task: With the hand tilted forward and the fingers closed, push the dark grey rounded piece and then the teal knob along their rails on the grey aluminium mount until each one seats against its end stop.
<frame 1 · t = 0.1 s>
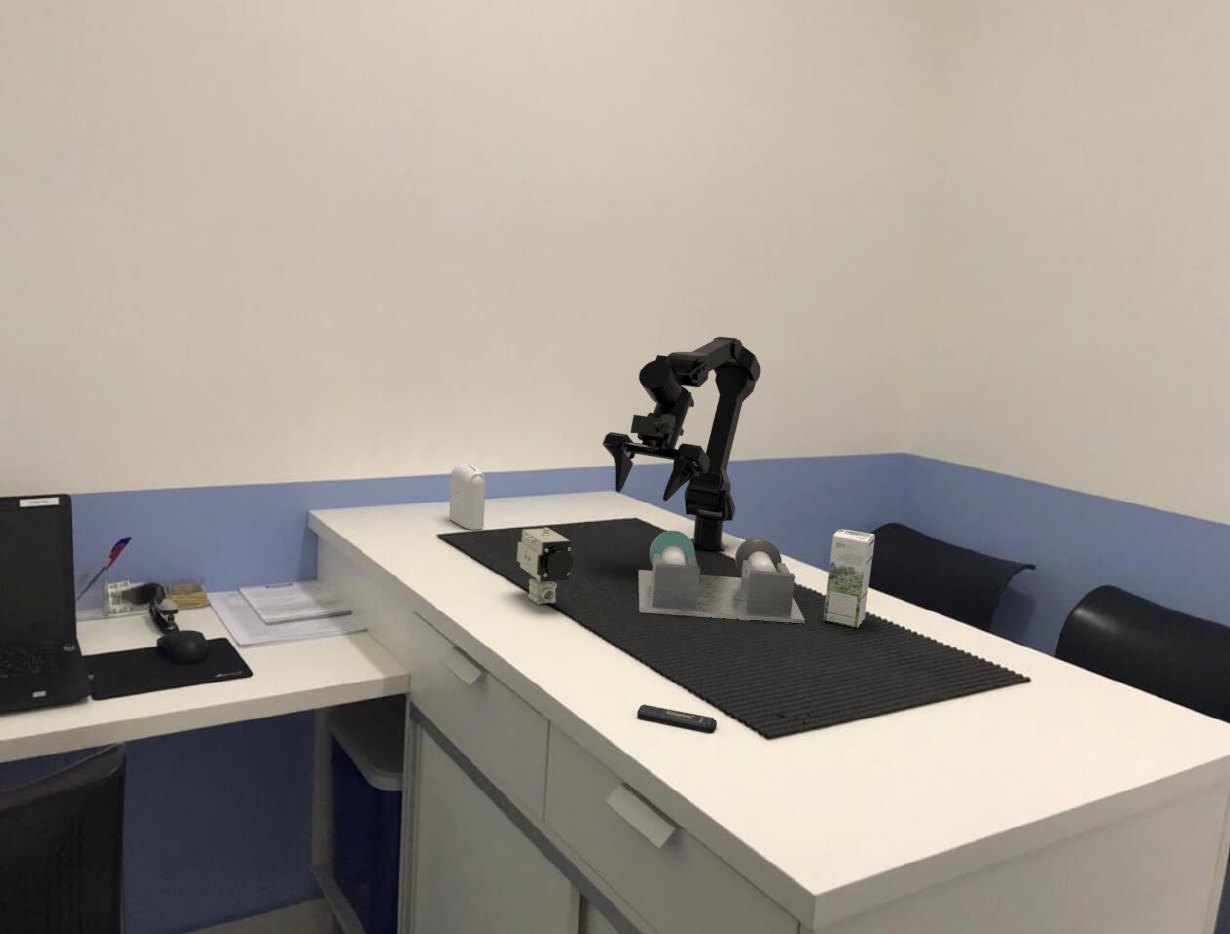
hand: (640, 496, 178), 15 cm above the table, tool tilted 35°, fingers open, 9 cm apart
usb stick: (675, 726, 123), on the table
pneumatic valve: (539, 602, 164), on the table
dark grey rounded piece: (761, 567, 175), point 5 cm above the table, slide at 5.0 cm
syrup box: (843, 622, 166), on the table
photo printer: (465, 525, 211), on the table
teal knob: (673, 560, 175), point 5 cm above the table, slide at 5.0 cm
mount: (714, 593, 176), on the table
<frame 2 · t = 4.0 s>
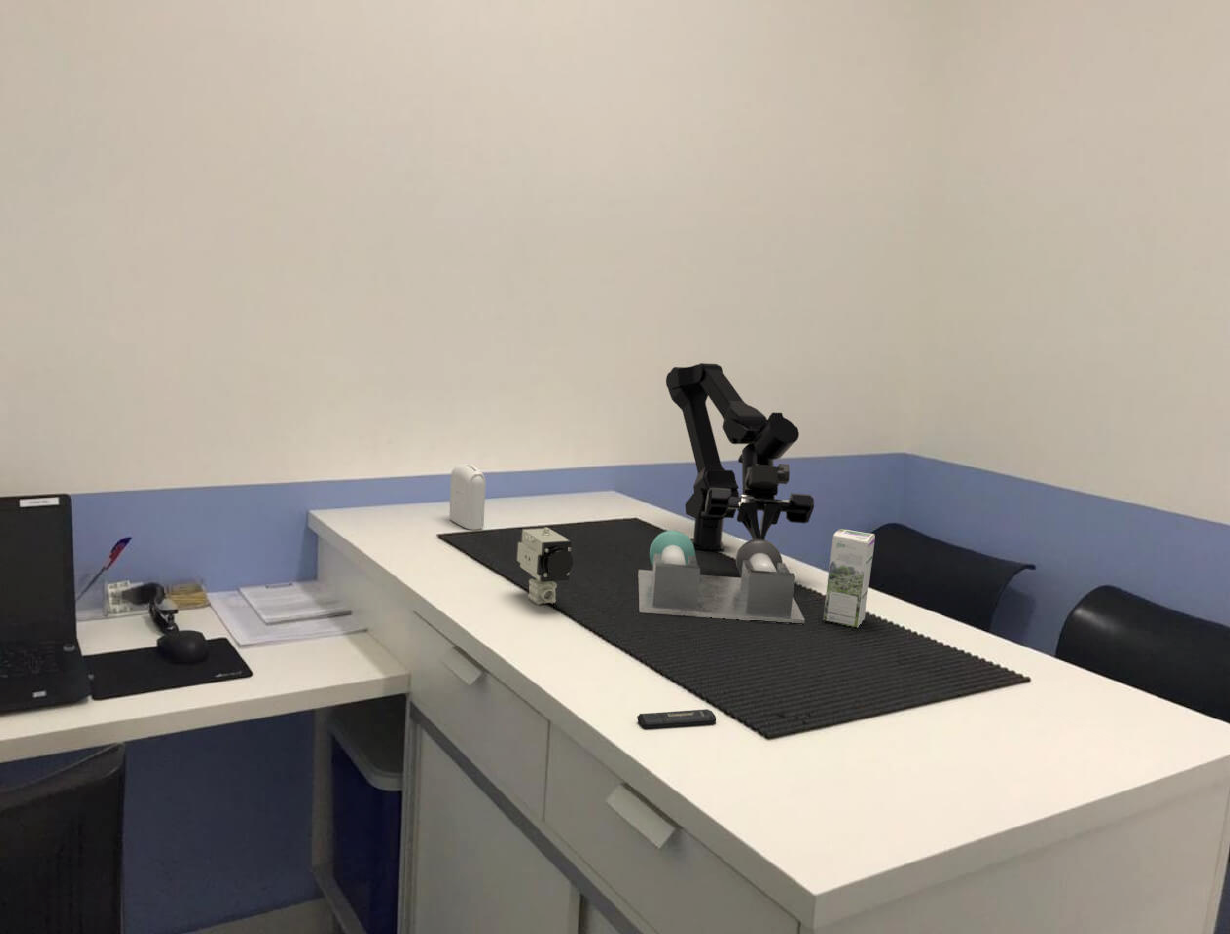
hand: (759, 546, 180), 8 cm above the table, tool tilted 45°, fingers closed, pressing on dark grey rounded piece
dark grey rounded piece: (762, 569, 174), point 5 cm above the table, slide at 3.9 cm, touching gripper
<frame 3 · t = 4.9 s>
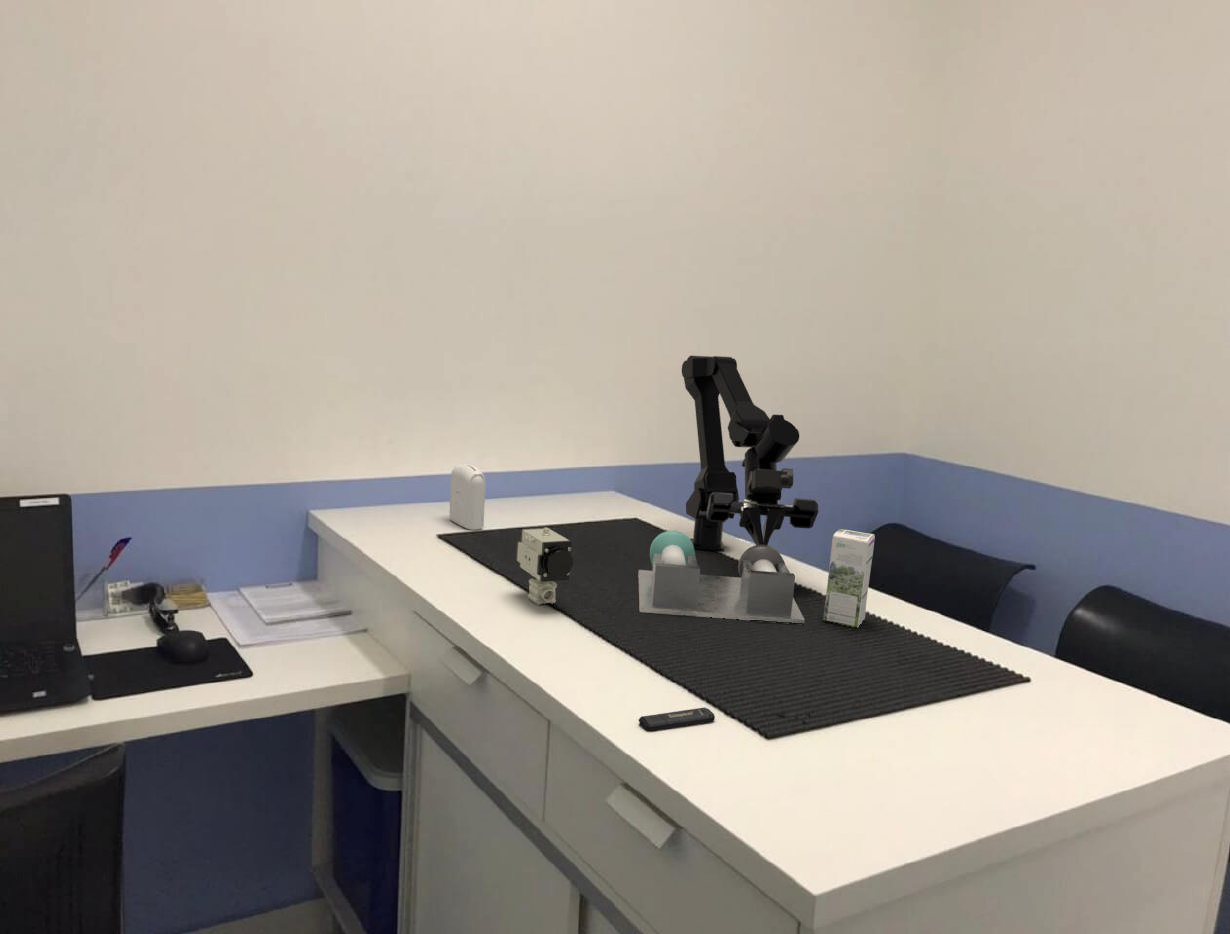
hand: (762, 552, 176), 8 cm above the table, tool tilted 45°, fingers closed, pressing on dark grey rounded piece
dark grey rounded piece: (765, 576, 170), point 5 cm above the table, slide at -0.2 cm, touching gripper
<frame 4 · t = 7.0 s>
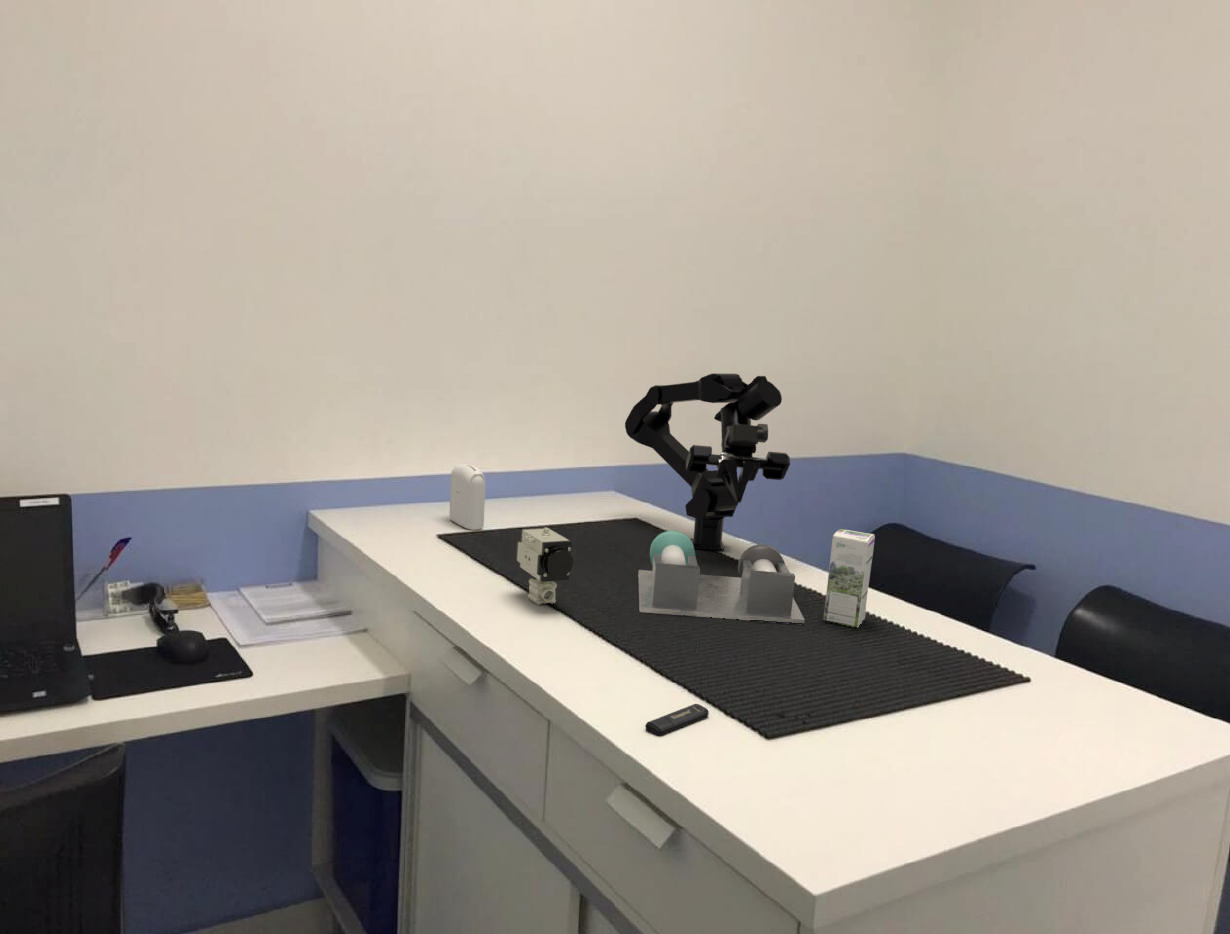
hand: (739, 501, 189), 13 cm above the table, tool tilted 45°, fingers closed
dark grey rounded piece: (765, 575, 170), point 5 cm above the table, slide at 0.0 cm
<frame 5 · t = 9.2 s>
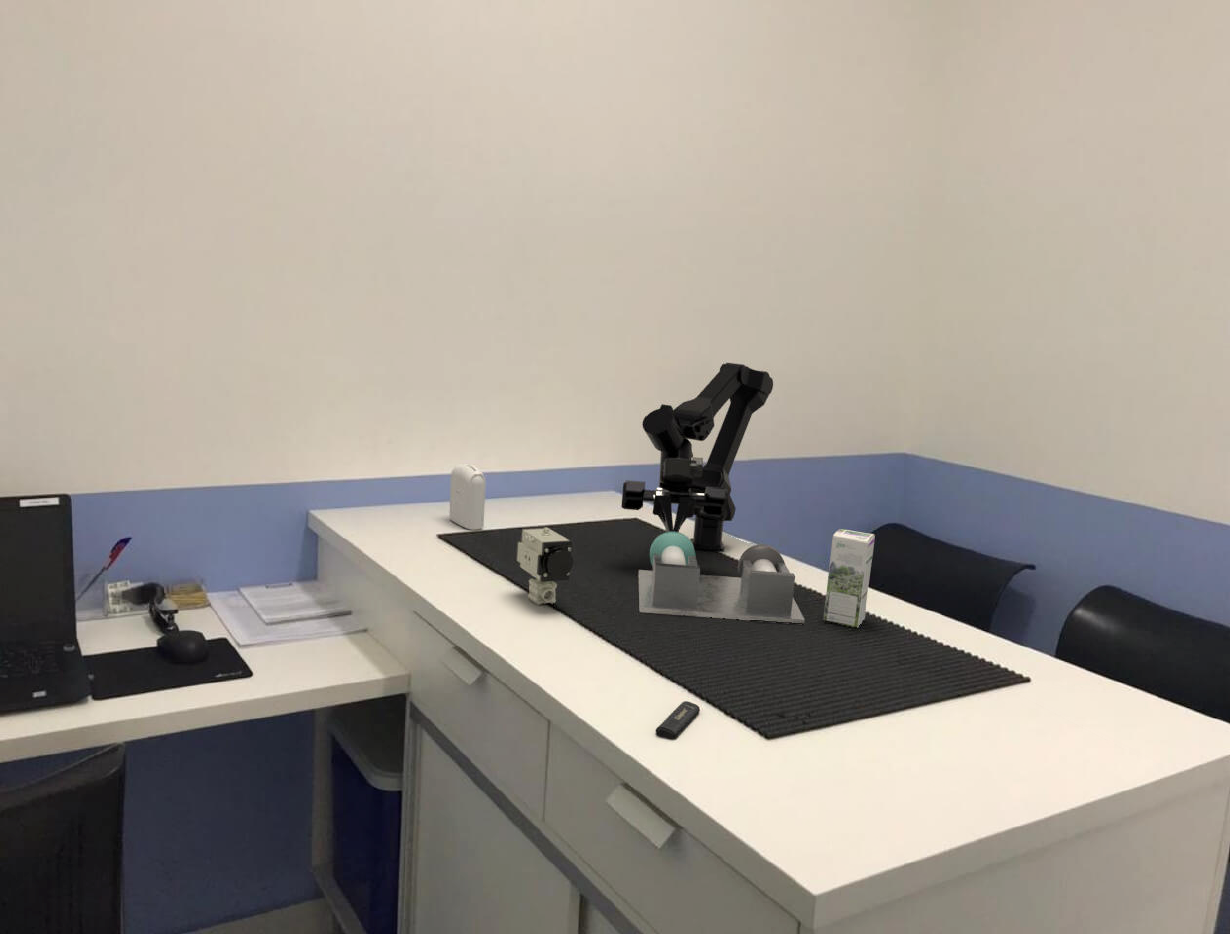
hand: (672, 538, 180), 8 cm above the table, tool tilted 45°, fingers closed, pressing on teal knob
teal knob: (673, 561, 175), point 5 cm above the table, slide at 4.4 cm, touching gripper
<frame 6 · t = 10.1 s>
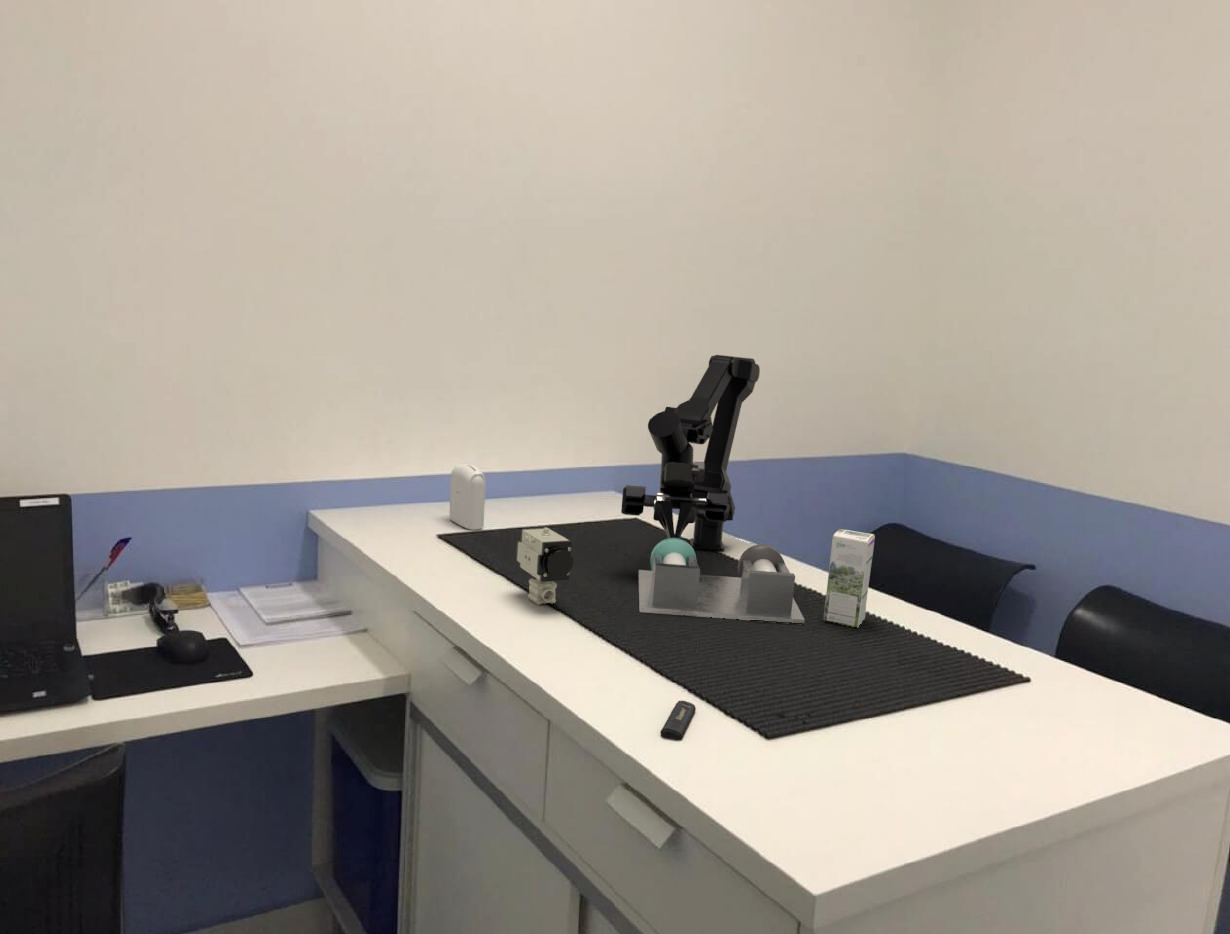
hand: (673, 545, 176), 8 cm above the table, tool tilted 45°, fingers closed, pressing on teal knob
teal knob: (674, 569, 170), point 5 cm above the table, slide at -0.1 cm, touching gripper
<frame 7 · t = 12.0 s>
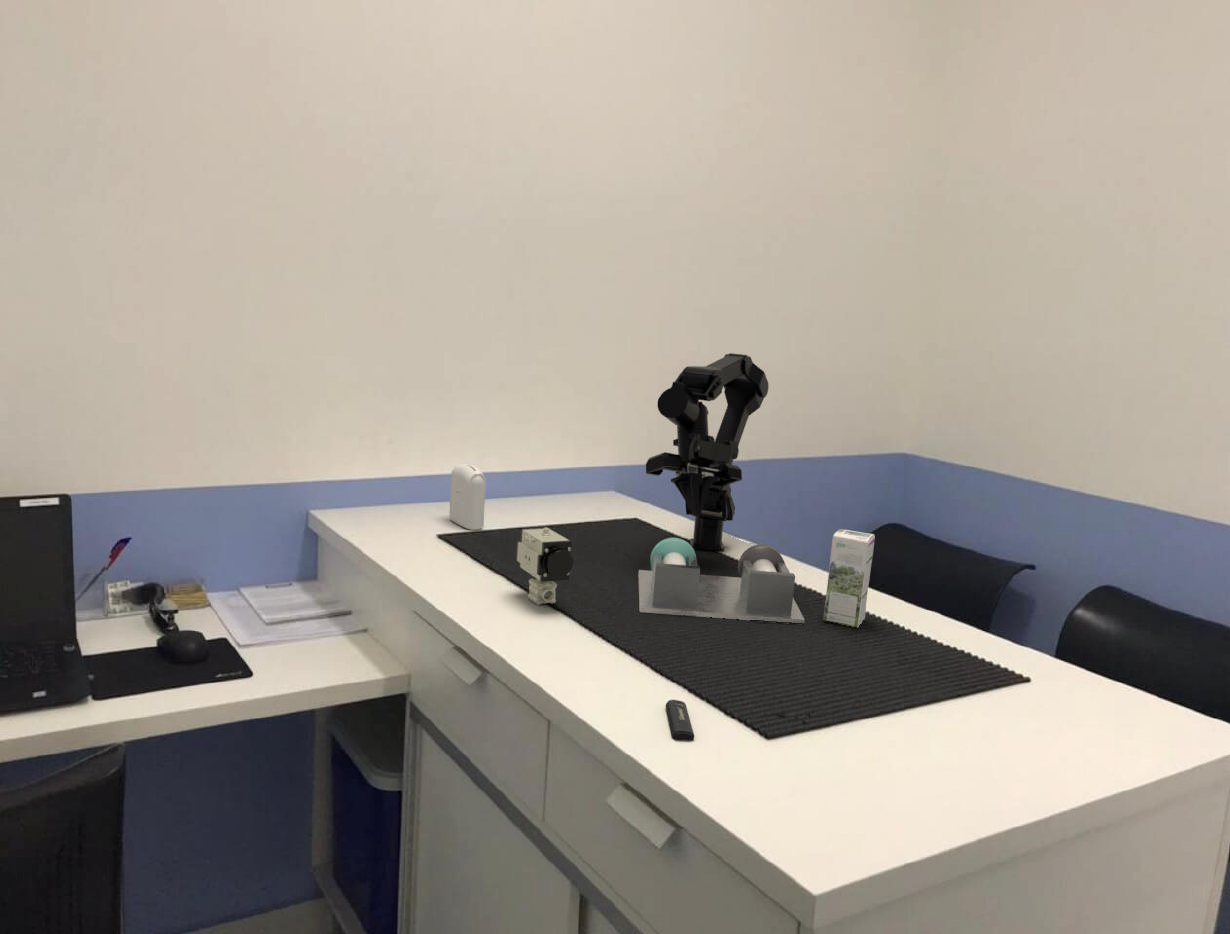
hand: (696, 515, 186), 10 cm above the table, tool tilted 25°, fingers closed
teal knob: (674, 568, 170), point 5 cm above the table, slide at 0.0 cm
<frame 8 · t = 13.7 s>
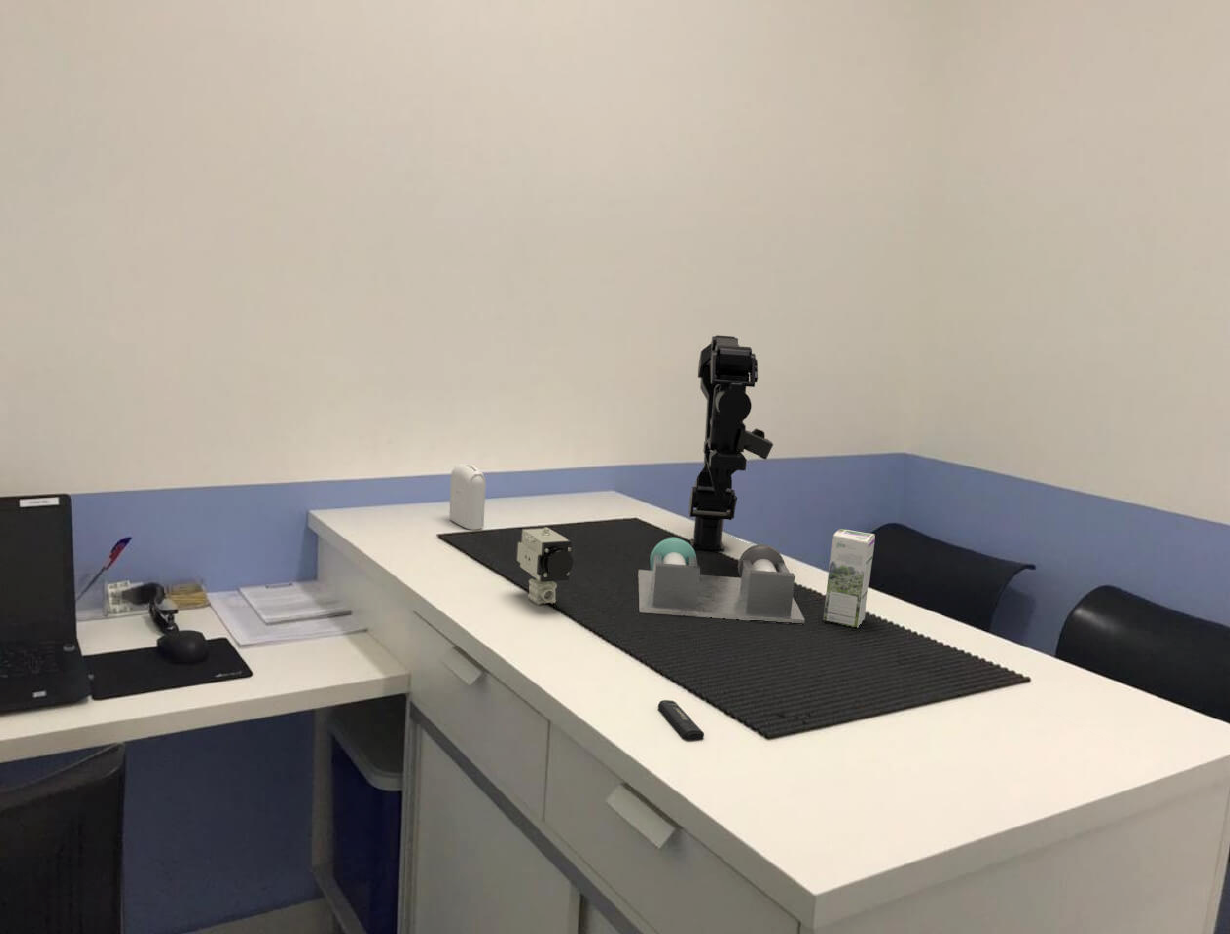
hand: (719, 499, 189), 13 cm above the table, tool pointing down, fingers closed
at the end: teal knob slide at 0.0 cm; dark grey rounded piece slide at 0.0 cm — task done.
